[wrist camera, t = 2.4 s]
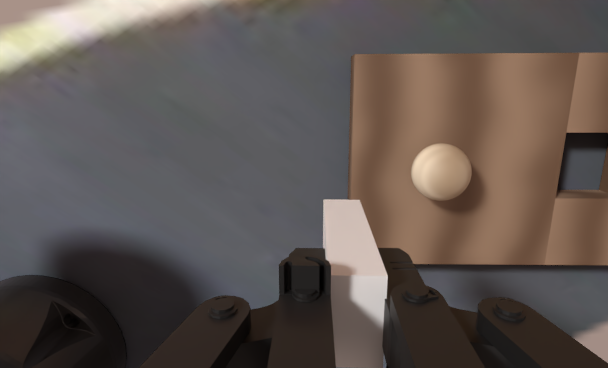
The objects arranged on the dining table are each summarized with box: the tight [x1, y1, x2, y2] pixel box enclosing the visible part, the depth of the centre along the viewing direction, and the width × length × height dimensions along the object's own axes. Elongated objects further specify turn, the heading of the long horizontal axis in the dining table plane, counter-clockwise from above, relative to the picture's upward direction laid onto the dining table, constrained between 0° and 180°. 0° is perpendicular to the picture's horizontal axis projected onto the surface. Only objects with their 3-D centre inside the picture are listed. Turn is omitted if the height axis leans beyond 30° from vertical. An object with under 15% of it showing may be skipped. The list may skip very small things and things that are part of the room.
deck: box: [348, 53, 608, 265], centre depth 30 cm, size 24×16×2 cm, turn 90°
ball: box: [411, 143, 472, 201], centre depth 27 cm, size 4×4×4 cm
